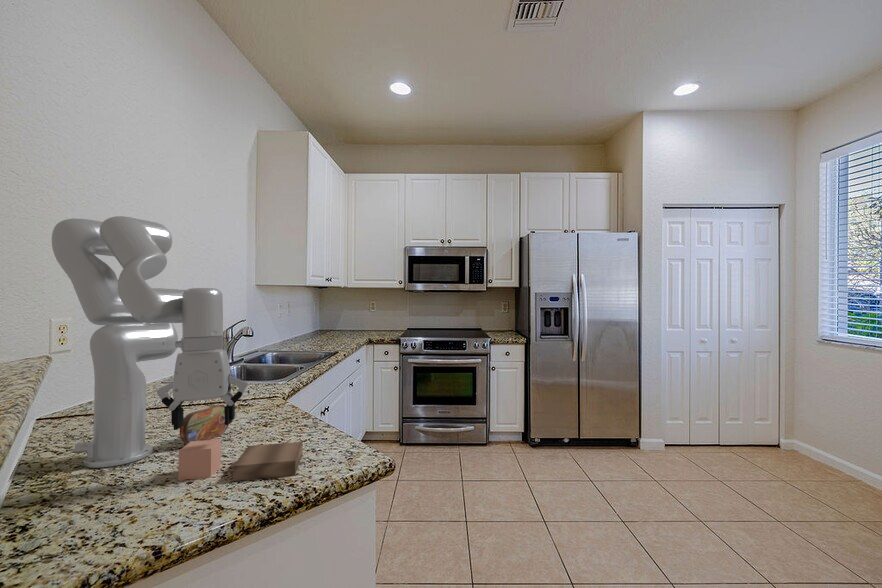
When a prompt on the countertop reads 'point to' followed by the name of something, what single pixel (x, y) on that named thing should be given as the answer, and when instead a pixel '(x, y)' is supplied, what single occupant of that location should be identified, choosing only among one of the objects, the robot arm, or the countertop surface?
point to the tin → (203, 424)
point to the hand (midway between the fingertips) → (204, 425)
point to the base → (268, 461)
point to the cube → (199, 459)
